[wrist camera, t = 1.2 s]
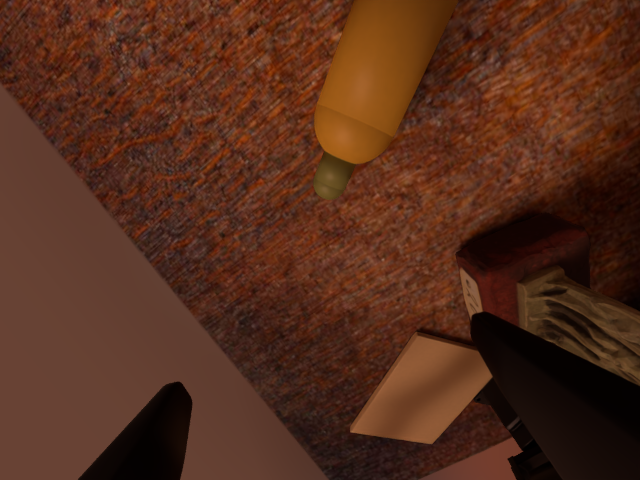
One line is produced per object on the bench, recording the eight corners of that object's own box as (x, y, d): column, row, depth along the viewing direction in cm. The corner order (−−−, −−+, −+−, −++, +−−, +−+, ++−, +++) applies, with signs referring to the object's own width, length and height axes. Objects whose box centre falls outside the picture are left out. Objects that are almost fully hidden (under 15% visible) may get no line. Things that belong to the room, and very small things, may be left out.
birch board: (505, 354, 29) (509, 359, 28) (429, 439, 34) (432, 444, 34) (415, 330, 26) (418, 335, 25) (349, 426, 32) (350, 432, 31)
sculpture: (443, 248, 22) (676, 464, 9) (543, 204, 21) (971, 371, 8) (467, 328, 26) (648, 558, 13) (551, 295, 26) (839, 505, 12)
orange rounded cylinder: (349, 199, 20) (365, 223, 16) (288, 176, 19) (287, 196, 15) (455, -33, 15) (519, -88, 11) (379, -83, 14) (418, -166, 9)
